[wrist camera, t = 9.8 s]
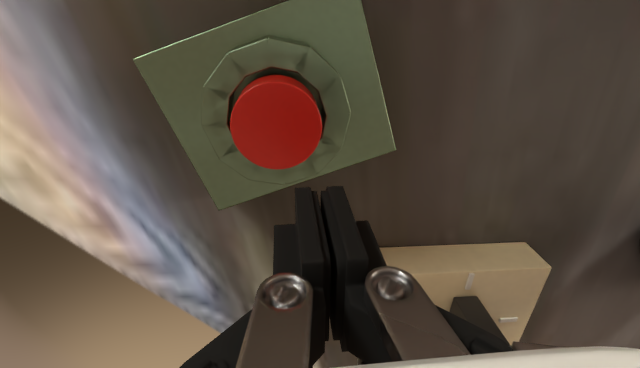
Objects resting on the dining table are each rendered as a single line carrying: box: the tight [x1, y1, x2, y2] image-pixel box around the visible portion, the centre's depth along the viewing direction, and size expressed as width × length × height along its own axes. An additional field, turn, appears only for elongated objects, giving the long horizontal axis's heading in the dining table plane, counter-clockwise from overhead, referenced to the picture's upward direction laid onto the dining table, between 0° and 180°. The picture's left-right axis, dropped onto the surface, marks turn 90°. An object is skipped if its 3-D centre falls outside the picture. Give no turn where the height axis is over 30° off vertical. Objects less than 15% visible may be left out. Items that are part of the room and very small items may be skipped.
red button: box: [230, 75, 322, 170], centre depth 15 cm, size 4×4×2 cm
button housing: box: [133, 0, 396, 210], centre depth 18 cm, size 11×9×4 cm
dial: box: [449, 296, 511, 346], centre depth 23 cm, size 6×2×5 cm, turn 177°
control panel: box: [380, 242, 552, 345], centre depth 27 cm, size 12×10×3 cm
